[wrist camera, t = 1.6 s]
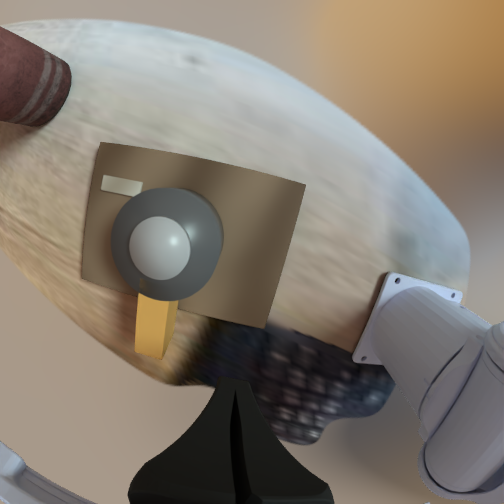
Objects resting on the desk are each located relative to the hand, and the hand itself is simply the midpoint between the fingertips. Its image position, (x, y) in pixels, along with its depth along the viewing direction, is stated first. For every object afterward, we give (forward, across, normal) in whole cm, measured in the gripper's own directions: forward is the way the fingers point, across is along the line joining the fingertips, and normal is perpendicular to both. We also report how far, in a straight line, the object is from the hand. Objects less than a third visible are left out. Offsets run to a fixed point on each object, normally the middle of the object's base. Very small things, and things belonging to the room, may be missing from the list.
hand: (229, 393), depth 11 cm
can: (+8, +20, -14) cm, 26 cm away
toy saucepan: (+7, +5, -3) cm, 9 cm away
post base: (+8, +5, -5) cm, 11 cm away
